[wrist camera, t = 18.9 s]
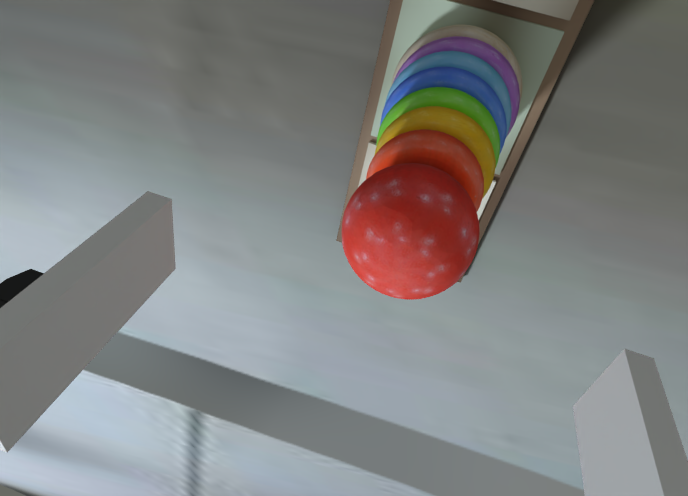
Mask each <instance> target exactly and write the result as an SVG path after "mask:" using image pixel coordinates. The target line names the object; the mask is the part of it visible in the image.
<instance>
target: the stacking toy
mask: <svg viewBox="0 0 688 496" xmlns="http://www.w3.org/2000/svg"><path fill="white" fill-rule="evenodd" d="M522 88H523V84H522V75H521V69H520V66H519V63H518V61H517V59H516V57H515V55H514V53H513V52H512V50H511V49H510V47H509V46H508V45H507V44H506V43H505V42H504V41H503V40H502V39H500V38H499V37H498V36H497V35H495V34H493V33H492V32H490V31H488V30H485V29H483V28H480V27H477V26H472V25H450V26H445V27H441V28H438V29H436V30H433V31H431V32H429V33H427V34H425V35H424V36H422V37H421V38H419V39H418V40H417V41H415V42H414V43H413V44H412V45H411V46H410V47H409V48H408V49H407V51H406V52H405V53H404V55H403V56H402V58H401V59H400V61H399V63H398V65H397V67H396V69H395V72H394V75H393V79H392V84H391V88H390V90H389V93H388V95H387V98H386V102H385V106H384V109H383V112H382V116H381V122H380V128H379V132H378V136H377V144H376V150H375V155H374V157H373V159H372V161H371V163H370V165H369V168H368V171H367V176H366V180H365V181H364V182H363V183H362V184H361V185H360V186H359V187H358V188H357V190H356V191H355V192H354V193H353V195H352V197H351V198H350V200H349V202H348V204H347V207H346V209H345V211H344V216H343V221H342V244H343V249H344V252H345V255H346V257H347V259H348V261H349V264H350V265H351V267H352V269H353V270H354V271H355V273H356V274H357V275H358V276H359V277H360V278H361V279H362V280H363V281H364V282H365V283H366V284H367V285H369V286H370V287H372V288H373V289H375V290H376V291H378V292H380V293H382V294H385V295H388V296H391V297H395V298H401V299H422V298H426V297H430V296H433V295H436V294H438V293H440V292H442V291H445V290H446V289H448V288H449V287H451V286H452V285H453V284H455V283H456V282H457V281H458V280H459V279H460V278H461V277H462V276H463V274H464V273H465V272H466V270H467V269H468V267H469V266H470V264H471V263H472V260H473V258H474V256H475V254H476V251H477V247H478V241H479V232H480V230H479V220H478V215H477V211H478V209H479V207H480V205H481V202H482V199H483V198H484V196H485V195H486V193H487V192H488V190H489V188H490V186H491V184H492V181H493V178H494V174H495V168H496V166H497V163H498V160H499V155H500V153H501V151H502V148H503V146H504V143H505V139H506V137H507V136H508V134H509V133H510V131H511V129H512V128H513V126H514V123H515V121H516V118H517V115H518V111H519V105H520V102H521V97H522Z"/></svg>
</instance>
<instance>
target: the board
mask: <svg viewBox="0 0 688 496" xmlns="http://www.w3.org/2000/svg"><path fill="white" fill-rule="evenodd" d="M593 2H594V0H390V4H389V8H388V13H387V17H386V22H385V26H384V31H383V35H382V39H381V44H380V48H379V53H378V57H377V62H376V66H375V71H374V75H373V80H372V84H371V88H370V93H369V97H368V102H367V106H366V111H365V115H364V120H363V124H362V128H361V133H360V137H359V142H358V146H357V151H356V155H355V160H354V164H353V169H352V173H351V177H350V182H349V186H348V191H347V195H346V200H345V204H344V209H343V213H342V217H341V222H340V226H339V231H338V235H337V240H336V241H339V242H342V221H343V216H344V211H345V209H346V207H347V204H348V202H349V200H350V198H351V197H352V195H353V193H354V192H355V191H356V190H357V188H358V187H359V186H360V185H361V184H362V183H363V182H364V181H365V180H366V176H367V171H368V168H369V165H370V163H371V161H372V159H373V157H374V155H375V150H376V144H377V136H378V132H379V128H380V122H381V116H382V112H383V109H384V106H385V102H386V98H387V95H388V93H389V90H390V88H391V84H392V79H393V75H394V72H395V69H396V67H397V65H398V63H399V61H400V59H401V58H402V56H403V55H404V53H405V52H406V51H407V49H408V48H409V47H410V46H411V45H412V44H413V43H414V42H415V41H417V40H418V39H419V38H421V37H422V36H424V35H425V34H427V33H429V32H431V31H433V30H436V29H438V28H441V27H445V26H450V25H472V26H477V27H480V28H483V29H485V30H488V31H490V32H492V33H493V34H495V35H497V36H498V37H499V38H500V39H502V40H503V41H504V42H505V43H506V44H507V45H508V46H509V47H510V49H511V50H512V52H513V53H514V55H515V57H516V59H517V61H518V63H519V66H520V69H521V75H522V84H523V88H522V97H521V102H520V105H519V111H518V115H517V118H516V121H515V123H514V126H513V128H512V129H511V131H510V133H509V134H508V136H507V137H506V139H505V143H504V146H503V148H502V151H501V153H500V155H499V160H498V163H497V166H496V168H495V174H494V178H493V181H492V184H491V186H490V188H489V190H488V192H487V193H486V195H485V196H484V198H483V199H482V202H481V205H480V207H479V209H478V211H477V215H478V220H479V230H480V232H479V241H478V244H479V242H480V240H481V238H482V236H483V234H484V232H485V230H486V228H487V225H488V223H489V221H490V219H491V217H492V215H493V213H494V211H495V209H496V206H497V204H498V202H499V200H500V198H501V196H502V194H503V192H504V190H505V188H506V185H507V183H508V181H509V179H510V177H511V175H512V173H513V171H514V169H515V166H516V164H517V162H518V160H519V158H520V156H521V154H522V152H523V150H524V148H525V145H526V143H527V141H528V139H529V137H530V135H531V133H532V131H533V129H534V126H535V124H536V122H537V120H538V118H539V116H540V114H541V112H542V110H543V108H544V105H545V103H546V101H547V99H548V97H549V95H550V93H551V91H552V89H553V86H554V84H555V82H556V80H557V78H558V76H559V74H560V72H561V70H562V68H563V65H564V63H565V61H566V59H567V57H568V55H569V53H570V51H571V49H572V46H573V44H574V42H575V40H576V38H577V36H578V34H579V32H580V30H581V28H582V25H583V23H584V21H585V19H586V17H587V15H588V13H589V11H590V9H591V6H592V4H593ZM464 274H465V273H464ZM464 274H463V276H464ZM463 276H462V277H461V278H460V279H459V280H458V281H457V282H461V280H462V278H463Z"/></svg>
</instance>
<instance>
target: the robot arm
mask: <svg viewBox="0 0 688 496" xmlns="http://www.w3.org/2000/svg"><path fill="white" fill-rule="evenodd" d="M175 269H176V268H175V251H174V234H173V216H172V199H170V198H167V197H164V196H161V195H157V194H154V193H151V192H146V193H145V194H144V195H143V196H141V197H140V198H139V199H137V200H136V201H135V202H134V203H132V204H131V205H130V206H129V207H127V208H126V209H125V210H124V211H122V212H121V213H120V214H119V215H117V216H116V217H115V218H114V219H112V220H111V221H110V222H108V223H107V224H106V225H105V226H103V227H102V228H101V229H100V230H98V231H97V232H96V233H95V234H93V235H92V236H91V237H90V238H88V239H87V240H86V241H85V242H83V243H82V244H81V245H79V246H78V247H77V248H76V249H74V250H73V251H72V252H71V253H69V254H68V255H67V256H66V257H64V258H63V259H62V260H61V261H59V262H58V263H57V264H55V265H54V266H53V267H52V268H50V269H49V270H48V271H47V272H45V273H41V272H38V271H35V270H33V269H29V270H27V271H25V272H22V273H20V274H17V275H15V276H13V277H10V278H8V279H6V280H4V281H3V282H2V283H0V450H2V451H4V452H8V451H9V450H10V449H11V448H12V447H13V446H14V445H15V443H16V442H17V441H18V440H19V439H20V438H21V437H22V436H23V435H24V434H25V433H26V431H27V430H28V429H29V428H30V427H31V426H32V425H33V424H34V423H35V422H36V421H37V419H38V418H39V417H40V416H41V415H42V414H43V413H44V412H45V411H46V410H47V408H48V407H49V406H50V405H51V404H52V403H53V402H54V401H55V400H56V399H57V398H58V396H59V395H60V394H61V393H62V392H63V391H64V390H65V389H66V388H67V387H68V386H69V384H70V383H71V382H72V381H73V380H74V379H75V378H76V377H77V376H78V375H79V373H80V372H81V371H82V370H83V369H84V368H85V367H86V366H87V365H88V364H89V362H90V361H91V360H92V359H93V358H94V357H95V356H96V355H97V353H99V352H100V350H101V349H102V348H103V347H104V346H105V345H106V344H107V343H108V342H109V341H110V340H111V338H112V337H113V336H114V335H115V334H116V333H117V332H118V331H119V330H120V329H121V328H122V326H123V325H124V324H125V323H126V322H127V321H128V320H129V319H130V318H131V317H132V316H133V314H134V313H135V312H136V311H137V310H138V309H139V308H140V307H141V306H142V305H143V304H144V302H145V301H146V300H147V299H148V298H149V297H150V296H151V295H152V294H153V293H154V291H155V290H156V289H157V288H158V287H159V286H160V285H161V284H162V283H163V282H164V281H165V279H166V278H167V277H168V276H169V275H170V274H171V273H172V272H173V271H174V270H175ZM573 410H574V418H575V425H576V433H577V440H578V447H579V455H580V462H581V469H582V477H583V484H584V491H585V496H688V461H687V457H686V454H685V451H684V448H683V445H682V442H681V439H680V436H679V433H678V430H677V427H676V424H675V421H674V418H673V415H672V412H671V409H670V406H669V403H668V400H667V397H666V394H665V391H664V388H663V385H662V382H661V379H660V376H659V373H658V370H657V367H656V364H655V361H654V358H651V357H648V356H645V355H642V354H639V353H636V352H633V351H630V350H627V349H624V350H623V351H622V352H621V353H620V354H619V355H618V356H617V357H616V359H615V360H614V361H613V362H612V363H611V364H610V365H609V366H608V367H607V369H606V370H605V371H604V372H603V373H602V374H601V375H600V376H599V378H598V379H597V380H596V381H595V382H594V383H593V384H592V385H591V387H590V388H589V389H588V390H587V391H586V392H585V393H584V394H583V395H582V397H581V398H580V399H579V400H578V401H577V402H576V403H575V404H574V406H573Z"/></svg>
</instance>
